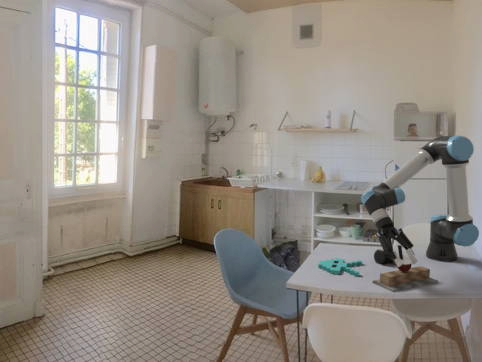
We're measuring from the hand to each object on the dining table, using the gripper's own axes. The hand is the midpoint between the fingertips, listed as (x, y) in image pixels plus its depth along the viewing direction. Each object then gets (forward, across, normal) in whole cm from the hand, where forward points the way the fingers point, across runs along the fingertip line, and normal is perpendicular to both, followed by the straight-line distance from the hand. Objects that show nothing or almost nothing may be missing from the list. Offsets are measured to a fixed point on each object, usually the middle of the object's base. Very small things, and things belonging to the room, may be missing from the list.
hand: (408, 264), depth 173 cm
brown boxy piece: (+4, -2, -9) cm, 10 cm away
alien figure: (-16, +11, -30) cm, 36 cm away
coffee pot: (-10, -15, -24) cm, 30 cm away
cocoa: (+1, -1, -5) cm, 5 cm away
